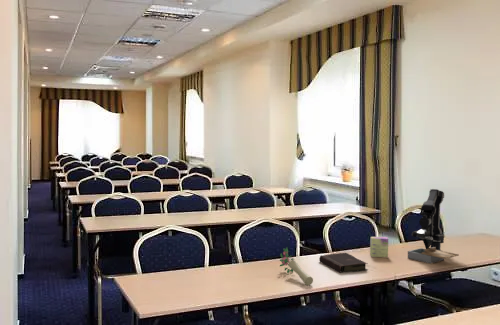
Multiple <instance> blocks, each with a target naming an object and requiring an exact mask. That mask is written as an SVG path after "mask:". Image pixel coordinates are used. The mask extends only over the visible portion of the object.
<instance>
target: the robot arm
mask: <svg viewBox="0 0 500 325" xmlns="http://www.w3.org/2000/svg"><path fill="white" fill-rule="evenodd" d="M428 194H429V195H428V197H427V200H426V201H424V202H423V203H422V205H421V206H420V207H421V208H420V213H419V216H422V217H421V218H420V219H419V225H420V226H421V227H420V229H419V230H414V231H412V233H411V237H415V238H416V237H417V238H419V239H420V240H422V242H423V244H424V245H423V246H424V247H425V248H424V249H428V248H432V247H436V250H440V251H442V250H441V248H442V247H441V246H442V245H441V244H444V241H445V236H444V235H443V231H442V229H441V227H440V218H441V204H442V203H443V201H444V198H445V192H444V191H443V190H439V189H438V188H432V189H431V188H430V190H429V193H428Z"/></svg>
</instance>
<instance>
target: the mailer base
mask: <svg viewBox="0 0 500 325" xmlns="http://www.w3.org/2000/svg"><path fill="white" fill-rule="evenodd" d="M425 249H426V248H423V247H420V248H416V249H411V250H408V251H407V259H409V260H412V261H413V260H415V261H417V260H418V261H419V262H421V263H427V264H430V265H431V264H434V263H438V262H443V261H445V259H443V258H439V257H434V256H430V255H425V254H421V253H422V252H425Z"/></svg>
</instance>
